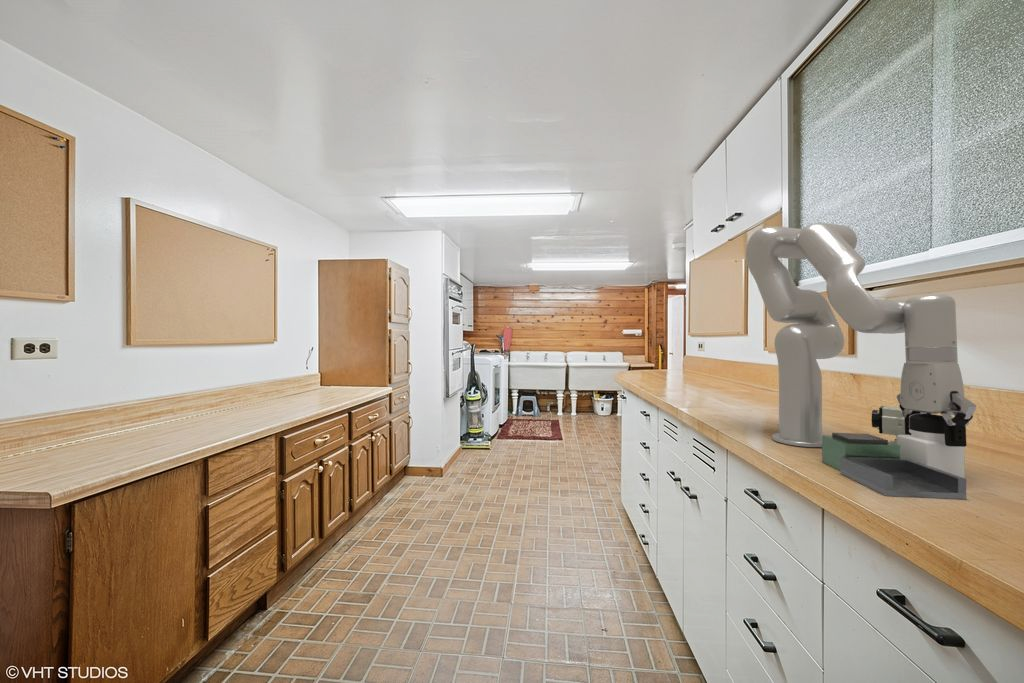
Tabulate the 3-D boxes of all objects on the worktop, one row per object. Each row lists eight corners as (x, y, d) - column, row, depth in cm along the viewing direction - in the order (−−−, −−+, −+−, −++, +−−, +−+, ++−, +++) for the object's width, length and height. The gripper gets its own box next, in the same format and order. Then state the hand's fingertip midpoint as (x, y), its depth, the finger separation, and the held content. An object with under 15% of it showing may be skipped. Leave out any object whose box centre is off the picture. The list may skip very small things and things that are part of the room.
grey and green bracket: (816, 461, 94) (816, 431, 94) (877, 464, 92) (877, 433, 92) (885, 495, 73) (885, 456, 73) (966, 499, 72) (966, 459, 72)
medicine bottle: (965, 479, 82) (965, 418, 82) (927, 478, 83) (927, 417, 83) (931, 468, 89) (931, 412, 89) (896, 467, 90) (896, 411, 90)
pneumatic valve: (874, 448, 106) (874, 400, 106) (940, 457, 98) (940, 405, 98) (870, 452, 102) (870, 402, 102) (939, 462, 94) (939, 408, 94)
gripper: (879, 356, 95) (882, 432, 94) (947, 357, 78) (951, 450, 77) (916, 356, 94) (919, 433, 93) (994, 356, 77) (998, 451, 76)
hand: (933, 440), depth 85 cm, fingers open, 9 cm apart
